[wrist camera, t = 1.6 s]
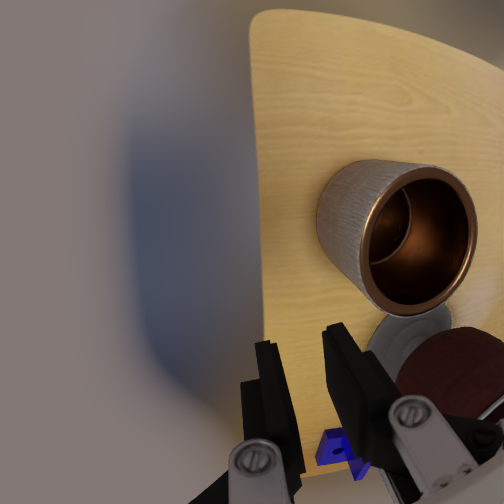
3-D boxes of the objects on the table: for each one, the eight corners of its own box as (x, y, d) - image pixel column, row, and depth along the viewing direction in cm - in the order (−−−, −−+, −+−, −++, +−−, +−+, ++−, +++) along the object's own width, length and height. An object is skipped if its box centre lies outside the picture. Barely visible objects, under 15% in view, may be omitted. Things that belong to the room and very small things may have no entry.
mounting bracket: (428, 408, 37) (445, 432, 31) (412, 436, 39) (426, 459, 33) (324, 430, 35) (335, 462, 29) (315, 457, 37) (323, 487, 31)
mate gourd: (375, 291, 29) (502, 426, 10) (465, 289, 30) (577, 374, 11) (344, 401, 33) (400, 532, 14) (428, 386, 35) (497, 482, 16)
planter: (309, 273, 28) (344, 326, 19) (316, 154, 25) (363, 152, 15) (406, 271, 29) (461, 312, 19) (419, 166, 25) (486, 175, 16)
